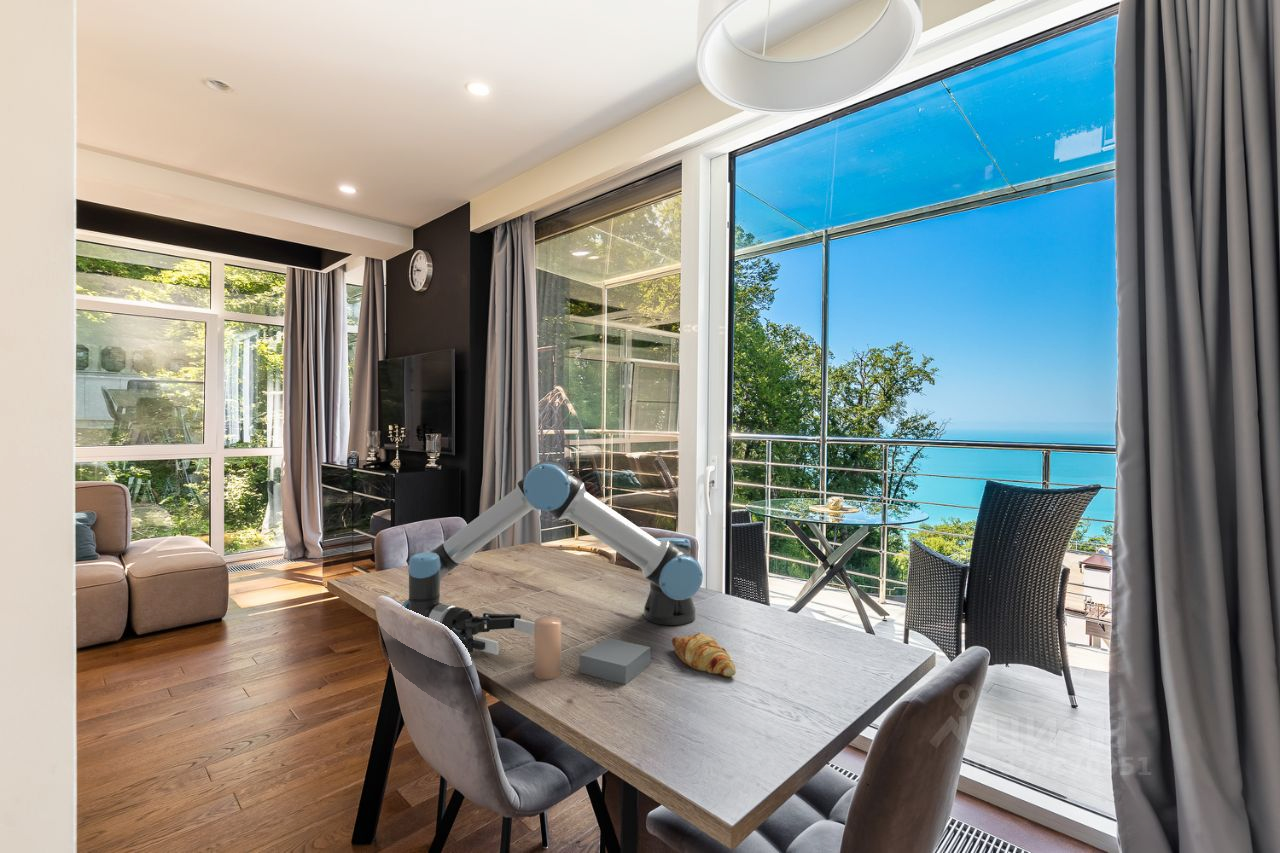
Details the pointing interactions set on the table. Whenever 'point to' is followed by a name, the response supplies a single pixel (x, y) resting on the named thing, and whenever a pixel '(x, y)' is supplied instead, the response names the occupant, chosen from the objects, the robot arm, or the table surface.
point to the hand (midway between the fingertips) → (517, 638)
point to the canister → (547, 648)
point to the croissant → (704, 654)
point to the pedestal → (615, 660)
